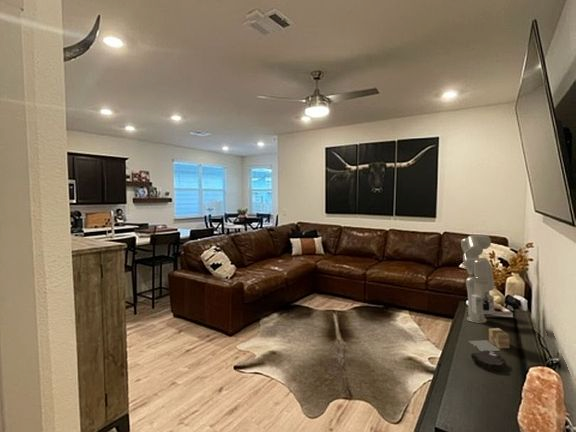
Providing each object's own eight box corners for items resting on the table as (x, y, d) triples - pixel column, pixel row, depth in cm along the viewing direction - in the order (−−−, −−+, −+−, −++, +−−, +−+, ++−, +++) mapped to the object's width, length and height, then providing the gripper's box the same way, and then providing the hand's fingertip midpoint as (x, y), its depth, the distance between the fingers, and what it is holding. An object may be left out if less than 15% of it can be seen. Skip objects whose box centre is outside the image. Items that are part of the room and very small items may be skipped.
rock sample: (512, 373, 163) (512, 364, 163) (478, 372, 166) (478, 362, 166) (497, 357, 180) (497, 348, 180) (466, 356, 183) (466, 347, 183)
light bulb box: (489, 310, 203) (488, 293, 203) (495, 314, 197) (494, 296, 197) (471, 311, 205) (470, 294, 204) (476, 314, 198) (475, 297, 198)
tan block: (489, 341, 199) (488, 328, 199) (499, 340, 199) (498, 328, 199) (499, 348, 189) (498, 335, 189) (509, 348, 189) (509, 334, 189)
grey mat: (468, 341, 201) (468, 341, 201) (486, 340, 201) (486, 340, 200) (481, 351, 187) (481, 351, 187) (500, 350, 187) (500, 350, 187)
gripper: (468, 277, 209) (469, 304, 209) (483, 283, 192) (484, 313, 192) (480, 276, 209) (481, 304, 209) (496, 282, 191) (497, 312, 192)
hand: (482, 308), depth 201 cm, fingers closed on light bulb box, 6 cm apart
